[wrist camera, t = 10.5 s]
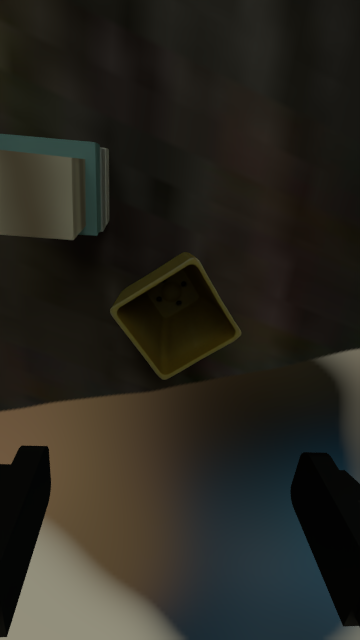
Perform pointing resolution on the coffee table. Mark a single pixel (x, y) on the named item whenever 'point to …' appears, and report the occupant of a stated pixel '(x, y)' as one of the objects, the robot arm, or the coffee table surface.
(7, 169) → the birch block
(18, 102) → the coffee table surface
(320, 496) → the robot arm
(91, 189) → the slab top
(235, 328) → the flower pot
